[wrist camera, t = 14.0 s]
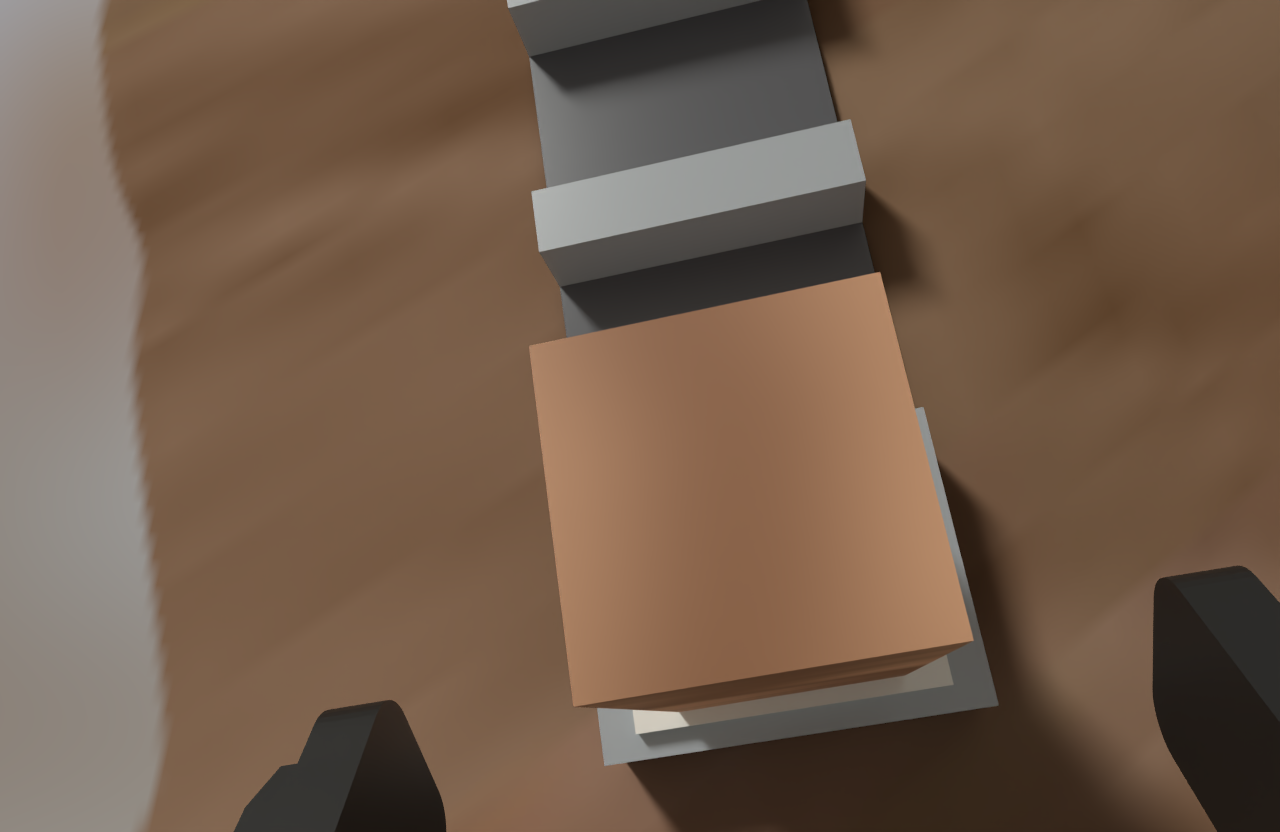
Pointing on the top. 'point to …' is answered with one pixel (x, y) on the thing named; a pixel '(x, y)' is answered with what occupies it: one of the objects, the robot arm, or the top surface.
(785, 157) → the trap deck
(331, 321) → the top surface
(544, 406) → the block
